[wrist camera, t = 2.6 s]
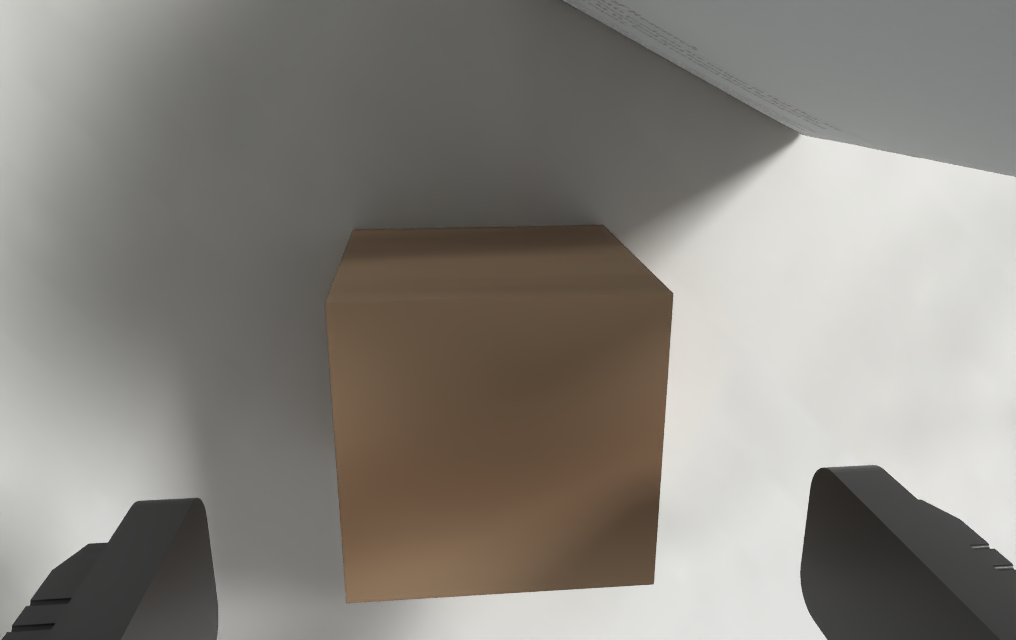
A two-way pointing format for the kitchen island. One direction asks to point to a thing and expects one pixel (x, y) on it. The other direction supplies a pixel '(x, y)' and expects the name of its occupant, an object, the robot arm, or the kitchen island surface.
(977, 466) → the kitchen island surface
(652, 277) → the walnut cube
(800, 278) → the kitchen island surface
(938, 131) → the supplement box
